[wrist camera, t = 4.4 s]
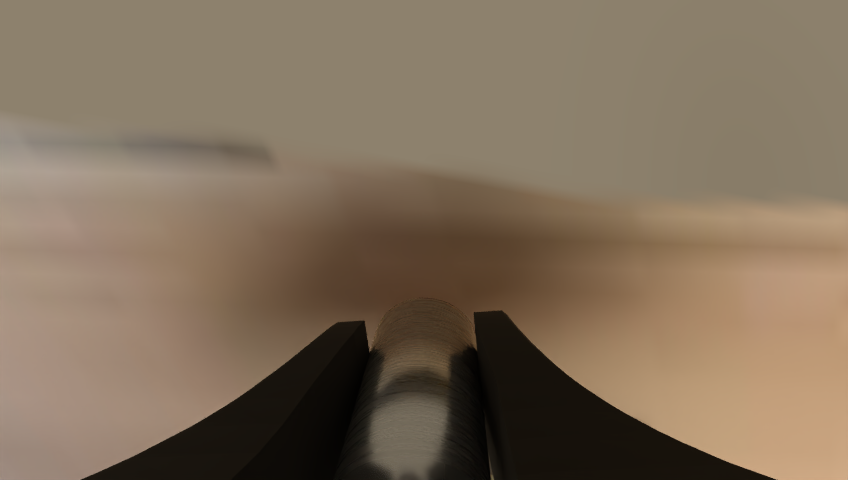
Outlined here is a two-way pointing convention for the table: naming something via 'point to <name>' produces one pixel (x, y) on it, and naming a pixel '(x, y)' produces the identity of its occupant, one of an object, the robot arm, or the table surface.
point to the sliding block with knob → (419, 400)
